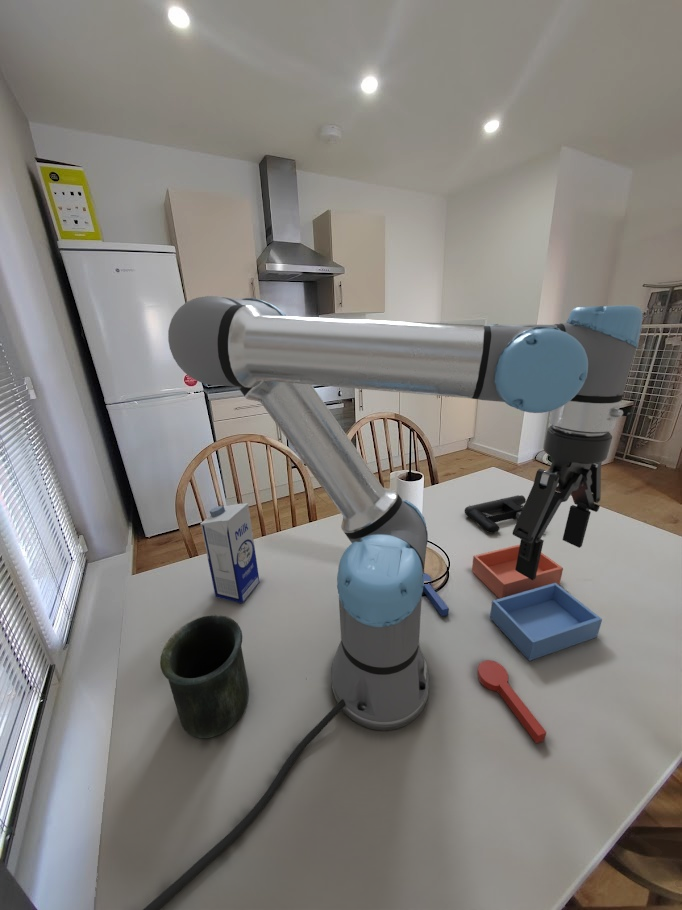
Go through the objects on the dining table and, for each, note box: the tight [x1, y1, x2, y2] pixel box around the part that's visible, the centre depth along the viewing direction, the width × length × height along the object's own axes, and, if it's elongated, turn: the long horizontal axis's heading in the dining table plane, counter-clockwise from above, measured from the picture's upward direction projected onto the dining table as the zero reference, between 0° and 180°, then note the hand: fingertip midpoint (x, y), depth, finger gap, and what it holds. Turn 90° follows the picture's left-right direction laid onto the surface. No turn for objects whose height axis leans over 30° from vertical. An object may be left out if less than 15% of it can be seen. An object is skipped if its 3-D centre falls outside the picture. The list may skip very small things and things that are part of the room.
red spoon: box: [477, 659, 547, 744], centre depth 53 cm, size 12×4×2 cm, turn 17°
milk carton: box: [200, 503, 261, 604], centre depth 74 cm, size 7×7×20 cm
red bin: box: [471, 544, 564, 599], centre depth 77 cm, size 15×10×4 cm, turn 107°
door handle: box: [464, 494, 527, 534], centre depth 98 cm, size 3×20×16 cm
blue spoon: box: [423, 572, 450, 617], centre depth 73 cm, size 12×4×2 cm, turn 17°
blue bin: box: [489, 583, 603, 662], centre depth 64 cm, size 15×10×4 cm, turn 107°
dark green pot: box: [159, 614, 250, 739], centre depth 53 cm, size 11×15×12 cm
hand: (549, 557), depth 56 cm, fingers open, 13 cm apart
